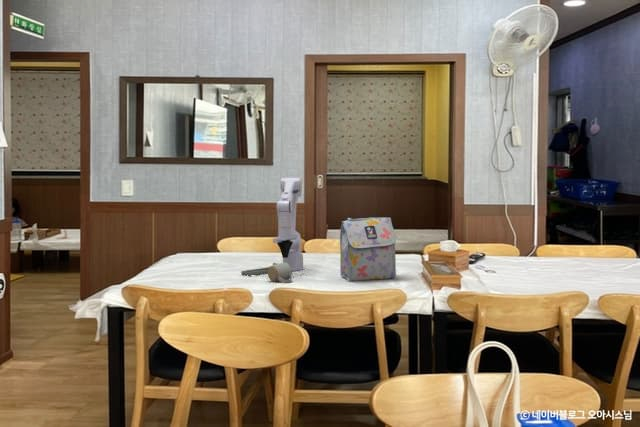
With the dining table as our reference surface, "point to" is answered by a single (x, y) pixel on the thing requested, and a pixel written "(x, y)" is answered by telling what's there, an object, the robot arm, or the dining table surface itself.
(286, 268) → the ceramic mug
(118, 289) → the dining table surface
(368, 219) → the lunch bag
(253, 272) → the grey open box
